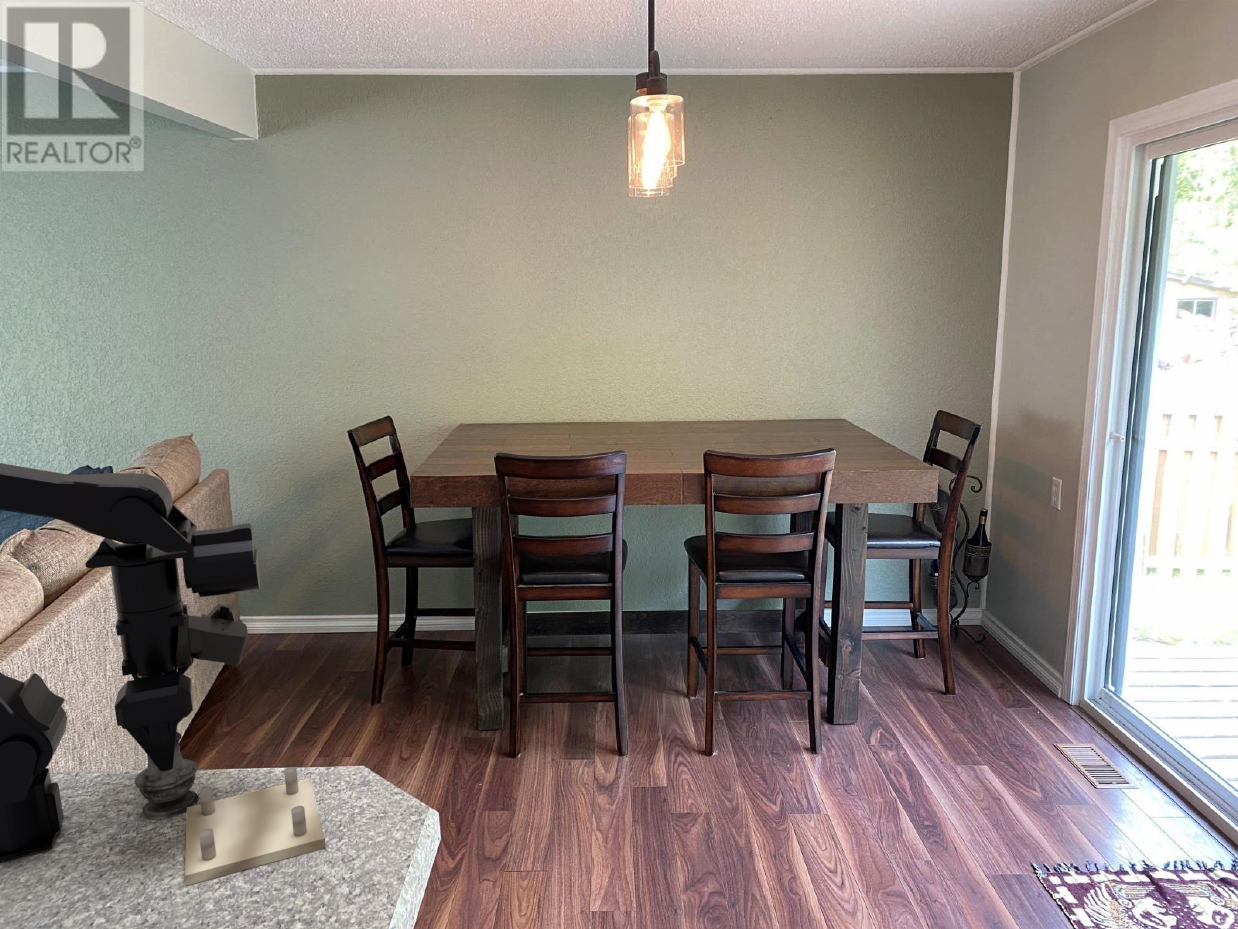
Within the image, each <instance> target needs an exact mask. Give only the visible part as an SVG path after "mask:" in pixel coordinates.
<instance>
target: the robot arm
mask: <svg viewBox="0 0 1238 929" xmlns="http://www.w3.org/2000/svg"><path fill="white" fill-rule="evenodd" d="M0 511H3V512H4V511H5V512H9V513H10V512H11V513H18V514H24V515H29V516H30V515H31V516H37V517H42V518H43V517H44V518H49V519H55V520H58V521H60V522H64V523H68V524H69V525H71V526H73V527H75V528H78V529H80V530H82V531H84V532H87V533H88V534H92V535H95V536H98V537H101V538H103V539H102V540H101V542H100V544H99V545H98V548H97V549H96V550H94V551H93V552H92V554H91V555H90V556H89V557H88V559H87V560H86V562H85V565H84V566H85V567H86V569H90V570H91V569H97V568H98V569H99V568H108V567H110V571H111V578H112V586H113V593H114V599H115V600H114V601H115V606H116V607H115V608H116V615H117V621H116V623H115V629H116V636H117V637H118V636H119V638H120V644H121V652H122V661H121V673H122V674H121V675H122V676H124V677H125V676H130V675H131V676H132V680H127V681H126V682H125V683H124V685H123V686H121V688H120V689H118V692H117V694H116V699H115V703H114V712H115V718H116V724H117V726H119V727H121V728H122V729H123V730H126V732H127V733H128V734H130V736H131V738H133V739H134V740H135V741H136V742H137V744H138V745H139V746H140V748H141V749H142V750H143V751H144V752H145V754H146V755H148V756H149V757H150V759H151V760H152V761H153V762H154V764H155V765H156V766H157V767H158V769H159V770H160V771H167V770H171V769H173V764H174V753H175V743H176V732H178V731H177V730H178V725H179V723H180V722H181V721H183V719H185V718H187V717H189V716H190V715H191V713H192V712H193V711H194V695H193V685H192V684H193V683H192V678H190V677H189V676H187V675H185V673H186V672H187V671H188V669H189V668H190V667H191V666H192V665H193V663H194V661H195V660H194V659H196V660H201V661H206V662H207V661H208V662H215V663H222V664H223V663H224V664H225V666H232V667H233V666H234V667H235V666H239V665H241V661H242V658H243V655H244V654H243V653H244V650H245V646H246V644H247V641H248V636H249V634H248V633H249V632H248V631H249V630H248V625H247V624H245V622H243V620H242V619H238V620H235V616H234V611H233V606H230V605H226V604H219V603H218V604H216V605H215V606H214V607H213V608H212V609H211V611H209V612H208V613H207V615H206V613H205V614H204V613H202V614H201V615H200V616H199V615H198V616H196V615H189V611H188V610H189V609H188V604H187V603H186V604H185V603H184V600H183V599H182V592H181V583H180V582H181V581H180V575H179V569H178V568H179V567H178V559H182V566H183V567H182V568H183V577H184V583H185V588H186V589H187V590H190V589H191V591H192V594H198V596H199V597H200V598H207V597H214V596H223V595H231V594H238V593H247V592H252V591H259V590H261V579H260V578H261V576H260V574H261V573H260V565H259V562H260V561H259V555H258V553H259V552H258V548H256V547H255V546H256V545H255V538H254V535H253V526H252V524H251V523H239V524H236V525H232V526H229V527H220V528H213V529H202V530H198V526H197V525H196V524H195V522H193V521H192V520H191V519H190V518H189V517H188V515H186V514H185V513H184V512H182V511H181V509H179V507H177V506H176V505H175V504H174V503H173V496H172V493H171V491H170V489H169V487H168V486H167V485H166V484H165V483H164V481H163V480H162V479H160V478H159V477H157V476H154V475H151V474H149V473H148V474H147V473H130V472H129V473H128V472H126V473H123V472H121V473H120V472H105V473H103V472H102V473H89V474H87V473H86V474H68V473H67V474H66V473H61V472H55V471H51V470H49V471H48V470H43V469H37V468H31V467H25V466H19V465H13V464H7V463H2V462H0ZM65 700H66V699H65V698H64V697H62V696H59V695H57V694H55V693H54V692H53V691H52V690H50V688H49V687H48V686H47V685H46V683H45V680H43V678H42V677H41V676H40V675H39V674H38V673H36V672H35V673H32V674H31V675H30V676H29V677H27V679H26V680H25V681H24V682H23V681H21V680H19V679H16V678H13V677H11V676H8V675H6V674H4V673H3V672H1V671H0V862H3V861H7V860H11V859H15V858H20V857H24V856H27V855H32V854H36V853H40V852H44V851H49V850H50V849H52V848H53V847H54V844H55V841H56V838H57V833H58V834H59V832H60V831H61V830H62V825H63V823H64V822H63V821H64V818H65V817H64V811H63V805H62V799H61V793H60V786H59V783H58V782H56V781H54V782H52V781H51V780H52V779H51V778H52V777H51V774H50V768H49V767H48V766H49V764H50V763H51V760H52V759H53V757H54V755H55V753H56V751H57V749H58V747H59V745H60V743H61V740H62V739H63V737H64V735H65V732H67V725H68V715H67V712H66V711H65V709H64V707H63V704H64V702H65ZM47 767H48V768H47Z"/></svg>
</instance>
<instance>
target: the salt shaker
mask: <svg viewBox="0 0 1238 929" xmlns="http://www.w3.org/2000/svg"><path fill="white" fill-rule="evenodd" d="M181 739H182V733H181V732H178V731H177V732H176V743H175V753H174V764H173V769H171V770H167V771H160V770H159V769H158V767H157V766H156V765H155V764H154V762H153V761H152V760H151V759H150V757H149V756H148V755H147V754H146V755H147V768H144V769H143V770H141V772H140V773H138V774H137V775H136V777H135V779H134V785H135V787H136V788H138V790H139V793H140V794H141V795H142V796H143V798H144V799H145V800H146V801H147V802H146V803H145V804H144V806H142V809H141V814H142V816H143V817H144V818H147V819H149V820H154V821H155V820H158V821H159V820H160V821H161V820H167V819H172V818H176V817H178V816H180V815H183V814H185V813H187V807H191V806H195V805H198V801H199V794H198V793H197V792H196V791H194V790H191V789H192V787H193V785H194V783H195V780H196V774H197V772H198V769H199V766H198V764H197V762H195V761H193V760H192V759H188V758H183V757H182V754H181V750H180V749H181V748H180V740H181Z"/></svg>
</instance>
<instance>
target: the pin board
mask: <svg viewBox="0 0 1238 929" xmlns="http://www.w3.org/2000/svg"><path fill="white" fill-rule="evenodd" d="M283 772H284V773H283V774H284V783H283V784H280V785H275V786H270V787H267V788H262V789H258V790H254V791H249V792H246V793H242V794H237V795H233V796H229V797H225V798H221V799H214V793H213V792H214V790H213V787H212V786H210V785H209V786H208V785H207V786H204V787H202V788H200V789H198V792H199V793H198V796H199V801H200V804H196V805H195V806H191V807H187V812H186V818H185V819H186V822H185V823H186V826H185V827H186V828H185V830H186V831H185V854H184V855H185V857H184V858H185V860H184V861H185V862H184V865H185V866H184V878H185V885H186V886H189V885H193V884H197V883H201V882H205V881H208V880H212V879H216V878H219V877H223V876H227V875H230V874H234V873H238V872H241V871H244V870H248V869H252V868H256V867H259V866H260V867H261V866H263V865H267V864H270V863H274V862H278V861H281V860H285V859H289V858H292V857H296V856H300V855H303V854H307V853H312V852H314V851H315V852H316V851H319V850H322V849H323V850H324V849H325V848H326V841H325V840H326V839H325V835H324V831H323V826H322V821H321V817H320V813H319V807H318V804H317V800H316V796H315V792H314V787H313V782H312V779H311V777H308V778H304V779H301V780H298V772H297V767H296V766H289V767H286V768H285V769H284V771H283Z"/></svg>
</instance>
